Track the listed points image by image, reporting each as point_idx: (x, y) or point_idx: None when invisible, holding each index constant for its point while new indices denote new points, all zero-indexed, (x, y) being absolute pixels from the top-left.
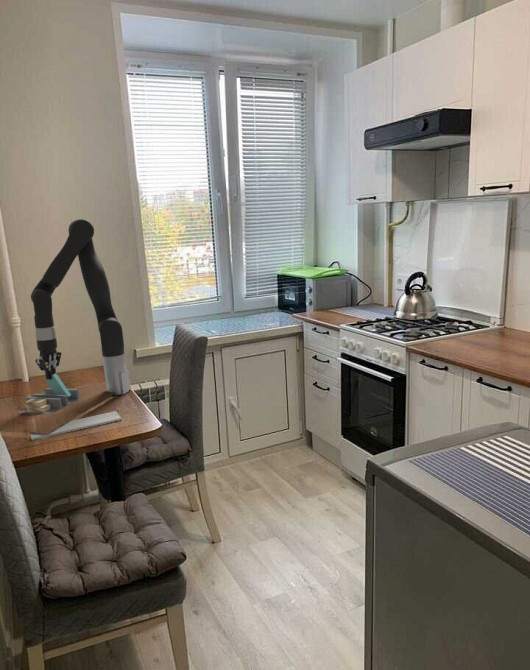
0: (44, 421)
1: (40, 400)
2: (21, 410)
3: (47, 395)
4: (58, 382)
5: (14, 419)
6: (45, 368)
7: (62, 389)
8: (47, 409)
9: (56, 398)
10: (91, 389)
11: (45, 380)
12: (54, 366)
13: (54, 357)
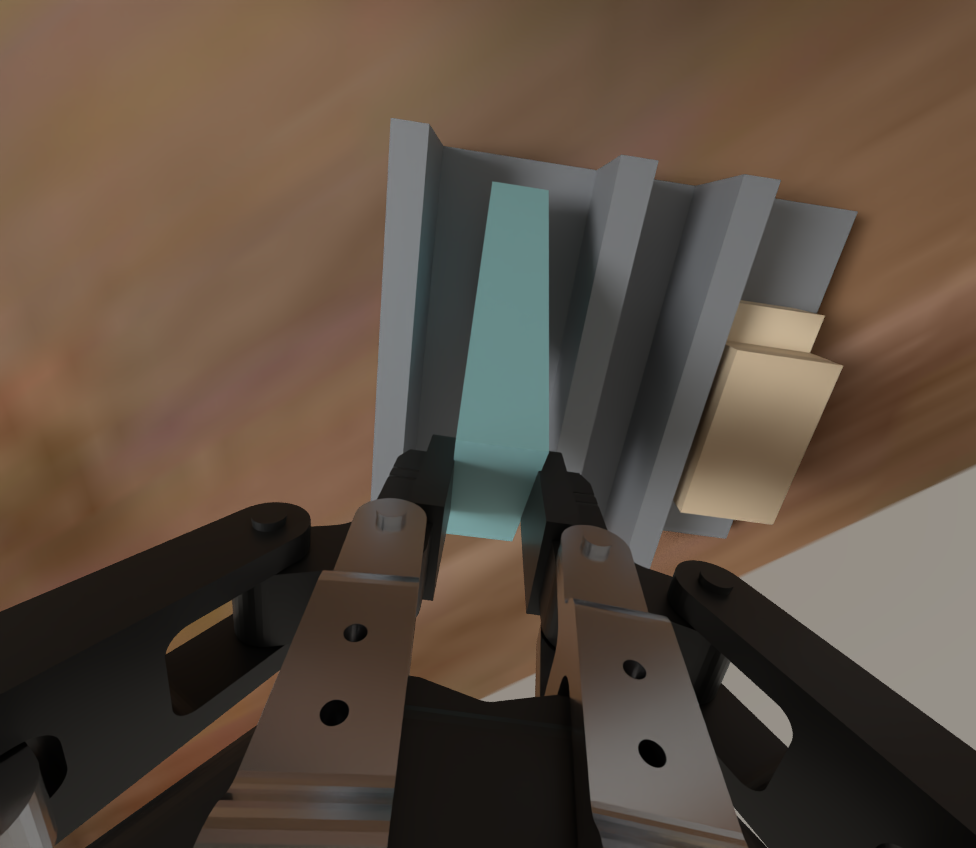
0: (913, 231)
1: (762, 395)
2: (692, 527)
3: (595, 411)
4: (544, 327)
5: (787, 505)
6: (761, 612)
7: (548, 261)
8: (754, 303)
9: (732, 236)
10: (64, 225)
11: (511, 537)
12: (417, 537)
13: (334, 767)
